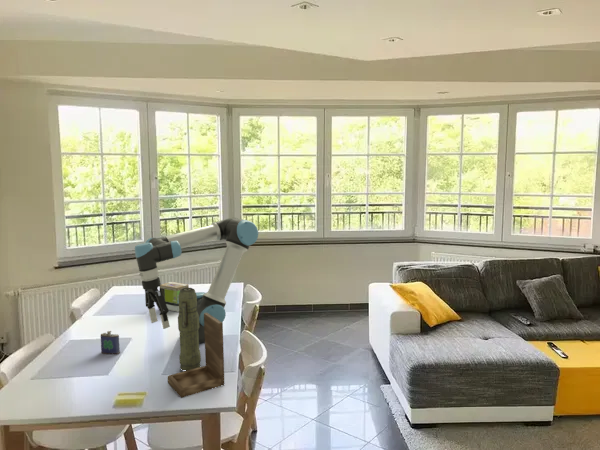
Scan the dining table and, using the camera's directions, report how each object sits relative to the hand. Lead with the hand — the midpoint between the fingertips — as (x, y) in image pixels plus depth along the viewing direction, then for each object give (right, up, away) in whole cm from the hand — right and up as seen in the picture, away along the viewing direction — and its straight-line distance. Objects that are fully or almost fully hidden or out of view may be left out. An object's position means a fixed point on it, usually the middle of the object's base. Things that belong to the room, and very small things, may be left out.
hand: (160, 324), depth 212 cm
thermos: (+14, -18, -3) cm, 23 cm away
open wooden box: (+19, -20, -18) cm, 33 cm away
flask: (-27, -16, +13) cm, 34 cm away
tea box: (-14, -6, +78) cm, 80 cm away
